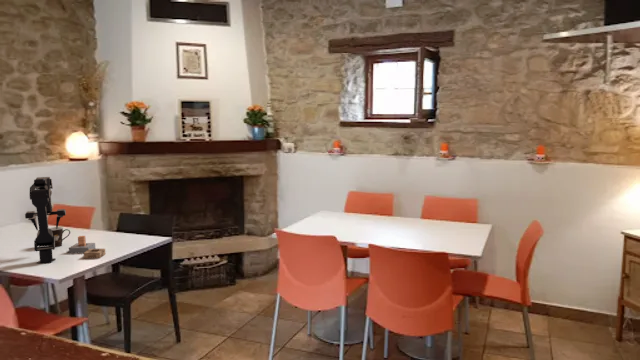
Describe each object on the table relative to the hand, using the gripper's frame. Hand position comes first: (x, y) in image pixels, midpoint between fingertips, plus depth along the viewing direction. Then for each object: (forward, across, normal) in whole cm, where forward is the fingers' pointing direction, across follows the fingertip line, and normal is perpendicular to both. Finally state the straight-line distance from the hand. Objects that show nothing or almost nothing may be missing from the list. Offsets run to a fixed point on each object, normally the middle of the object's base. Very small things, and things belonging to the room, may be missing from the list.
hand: (47, 229), depth 271 cm
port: (+13, -16, +2) cm, 21 cm away
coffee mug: (+13, -4, -16) cm, 21 cm away
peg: (+13, -16, +2) cm, 21 cm away
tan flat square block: (+13, -23, +17) cm, 31 cm away
